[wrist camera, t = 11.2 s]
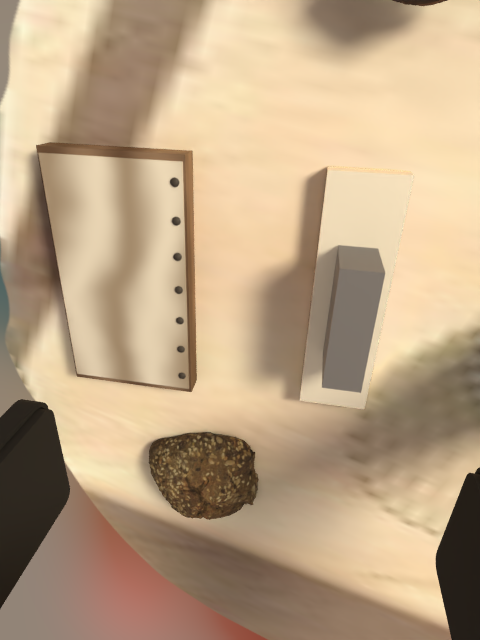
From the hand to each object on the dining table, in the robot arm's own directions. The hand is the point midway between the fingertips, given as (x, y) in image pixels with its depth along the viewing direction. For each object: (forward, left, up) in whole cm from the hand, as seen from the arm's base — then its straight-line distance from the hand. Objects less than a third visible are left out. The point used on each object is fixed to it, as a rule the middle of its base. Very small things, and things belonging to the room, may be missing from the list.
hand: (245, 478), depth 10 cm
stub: (-4, +8, -28) cm, 30 cm away
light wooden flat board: (+15, +8, -28) cm, 33 cm away
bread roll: (+8, +32, -29) cm, 44 cm away
